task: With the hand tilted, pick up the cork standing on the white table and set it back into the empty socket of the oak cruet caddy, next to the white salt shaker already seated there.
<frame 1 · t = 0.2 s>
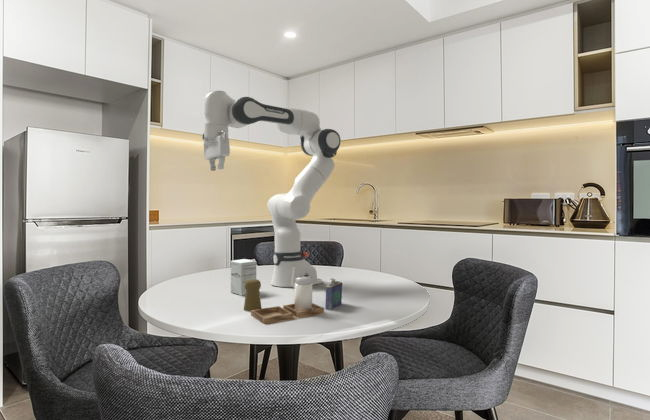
hand: (216, 169, 154), 48 cm above the table, tool pointing down, fingers open, 8 cm apart
salt shaker: (303, 311, 127), point 2 cm above the table, touching caddy
flask: (333, 311, 133), on the table
supplement box: (243, 293, 157), on the table
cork: (252, 314, 129), on the table
caddy: (287, 318, 124), on the table
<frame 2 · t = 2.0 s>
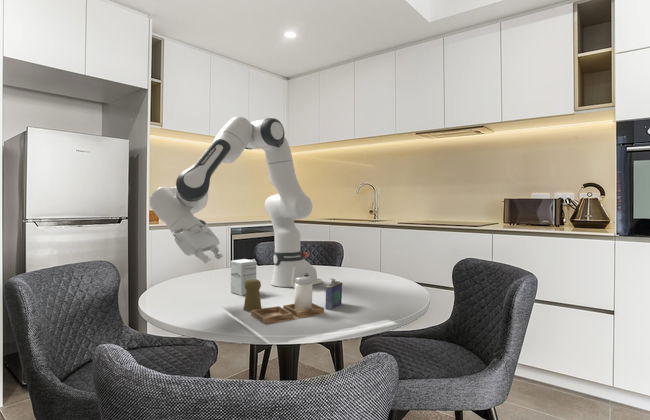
hand: (214, 259, 130), 17 cm above the table, tool tilted 45°, fingers open, 8 cm apart
nothing on the table moved.
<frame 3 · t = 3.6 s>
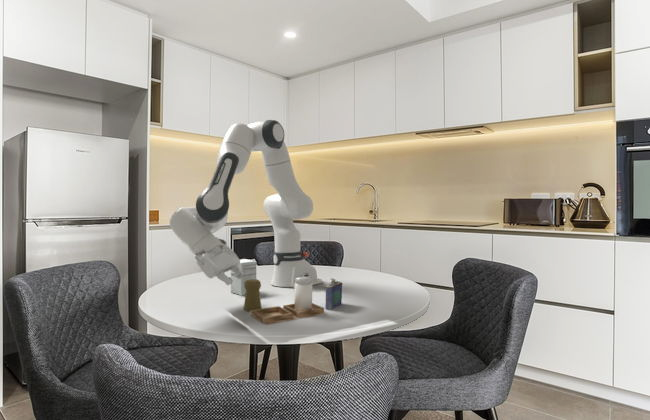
hand: (236, 280, 129), 10 cm above the table, tool tilted 45°, fingers open, 8 cm apart
nothing on the table moved.
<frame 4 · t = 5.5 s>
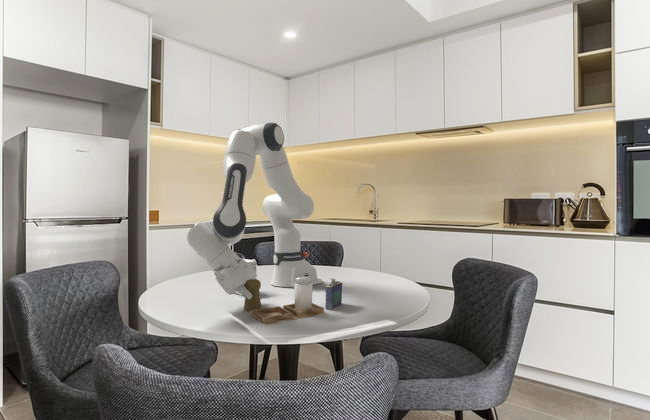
hand: (254, 295, 129), 6 cm above the table, tool tilted 45°, fingers closed on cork, 4 cm apart
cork: (252, 314, 129), on the table, touching gripper
everything else where it was.
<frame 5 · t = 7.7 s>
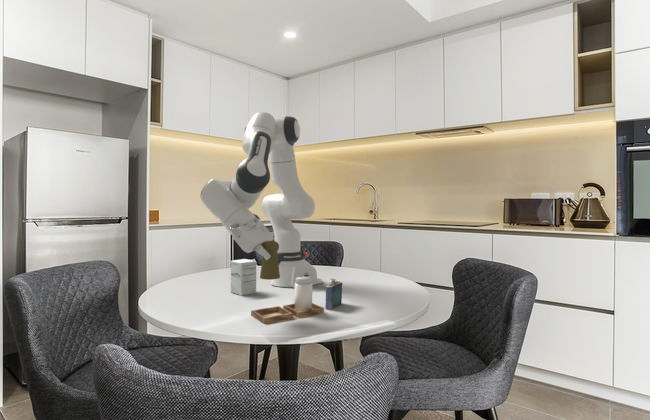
hand: (272, 256, 120), 20 cm above the table, tool tilted 45°, fingers closed on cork, 4 cm apart
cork: (269, 278, 120), point 13 cm above the table, touching gripper
everything else where it was.
when the fingers open (9 cm above the table, at t = 10.2 s): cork drops 1 cm, resting on caddy.
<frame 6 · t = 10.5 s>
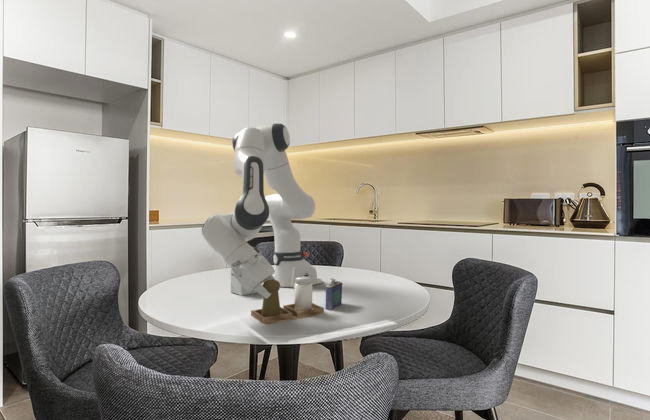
hand: (273, 292, 120), 9 cm above the table, tool tilted 45°, fingers open, 8 cm apart
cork: (271, 317, 121), point 1 cm above the table, touching caddy
everything else where it was.
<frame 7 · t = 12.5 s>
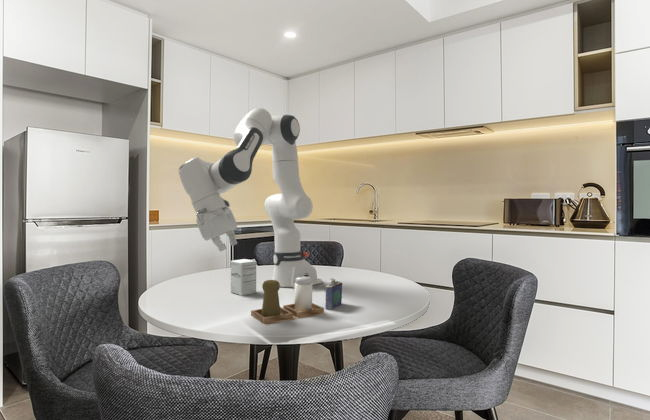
hand: (229, 247, 126), 22 cm above the table, tool tilted 25°, fingers open, 8 cm apart
nothing on the table moved.
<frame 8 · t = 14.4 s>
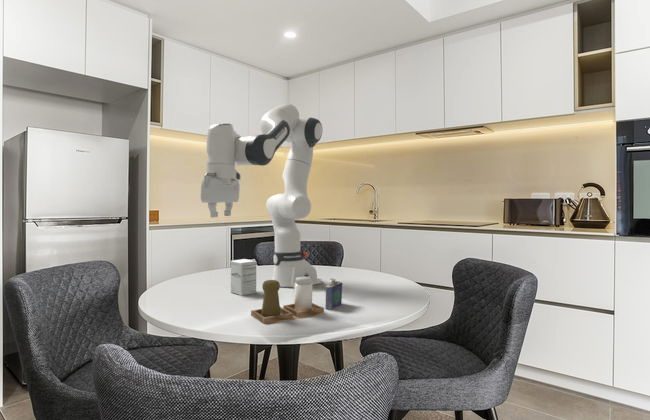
hand: (221, 216, 130), 31 cm above the table, tool pointing down, fingers open, 8 cm apart
nothing on the table moved.
at the end: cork 0.3 cm from the target spot on the caddy, point 1.3 cm above the caddy's base; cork tilted 0°; salt shaker moved 0.0 cm from its start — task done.
